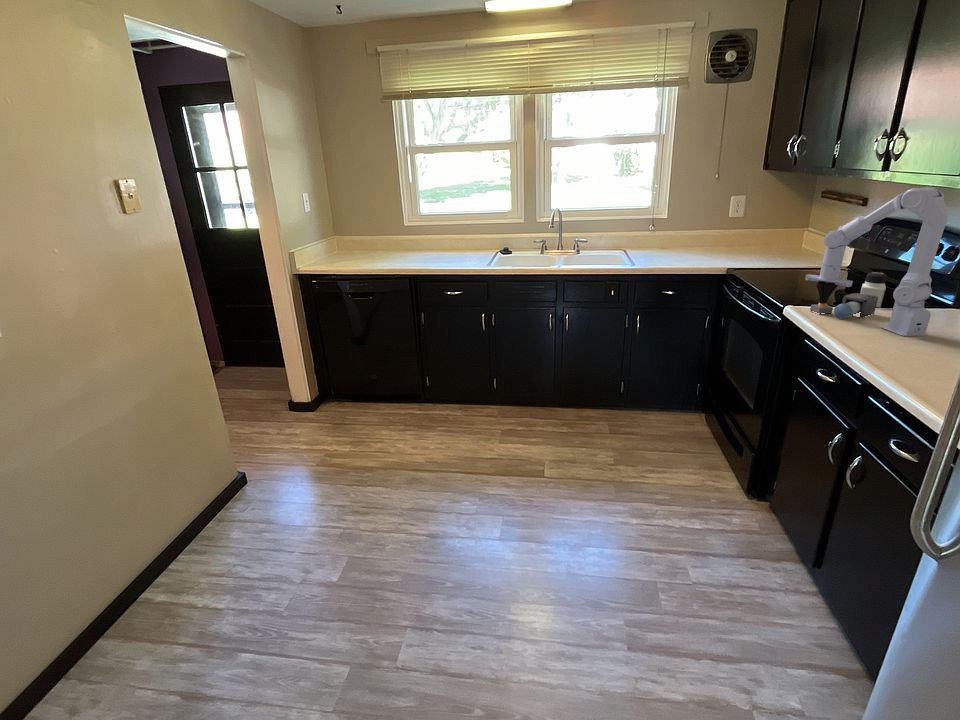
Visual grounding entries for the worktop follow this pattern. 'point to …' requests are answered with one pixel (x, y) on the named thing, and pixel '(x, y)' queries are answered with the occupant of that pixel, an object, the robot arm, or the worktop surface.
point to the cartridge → (848, 309)
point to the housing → (867, 300)
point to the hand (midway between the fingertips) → (822, 303)
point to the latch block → (821, 309)
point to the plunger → (822, 305)
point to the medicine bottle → (875, 286)
